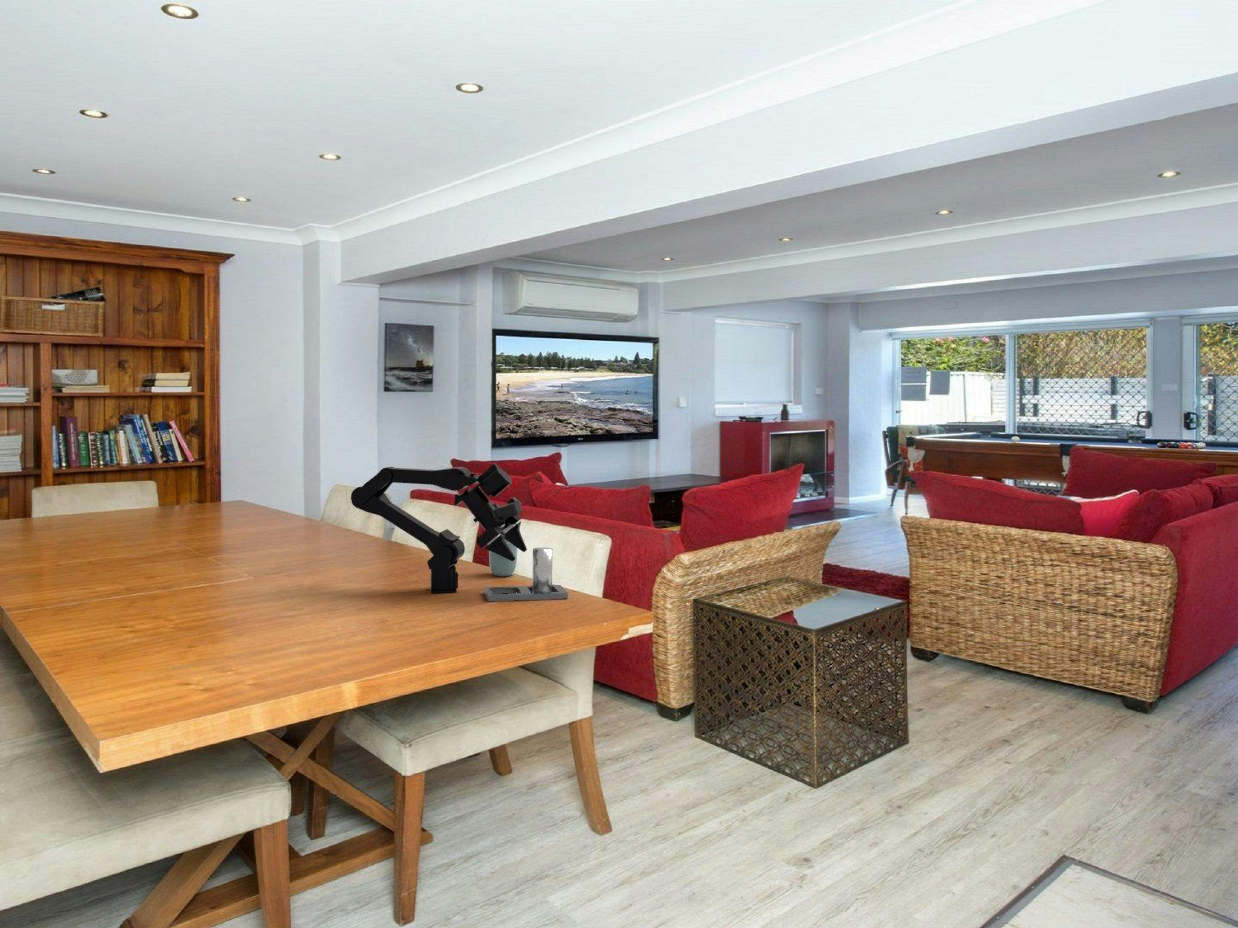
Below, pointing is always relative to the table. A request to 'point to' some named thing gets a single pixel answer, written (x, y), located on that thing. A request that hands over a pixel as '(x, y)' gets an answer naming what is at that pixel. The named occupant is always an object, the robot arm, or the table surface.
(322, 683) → the table surface
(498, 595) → the grey divided tray
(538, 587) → the peg
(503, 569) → the cup
